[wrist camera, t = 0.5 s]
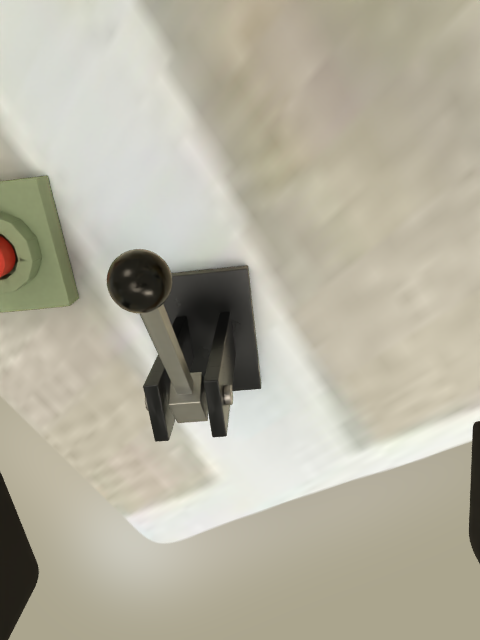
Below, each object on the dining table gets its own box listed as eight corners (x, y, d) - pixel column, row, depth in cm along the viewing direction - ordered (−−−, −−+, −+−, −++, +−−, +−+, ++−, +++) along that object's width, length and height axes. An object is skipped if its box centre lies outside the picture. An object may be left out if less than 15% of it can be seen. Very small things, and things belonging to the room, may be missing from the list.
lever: (103, 239, 23) (91, 286, 21) (166, 232, 22) (160, 279, 20) (173, 389, 34) (170, 429, 32) (215, 386, 34) (214, 425, 32)
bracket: (149, 275, 42) (100, 335, 29) (247, 265, 41) (242, 322, 28) (171, 390, 46) (137, 487, 33) (261, 382, 45) (261, 479, 32)
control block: (-53, 187, 39) (-85, 192, 36) (47, 175, 39) (25, 179, 35) (-13, 307, 43) (-38, 322, 40) (79, 298, 43) (61, 313, 39)
